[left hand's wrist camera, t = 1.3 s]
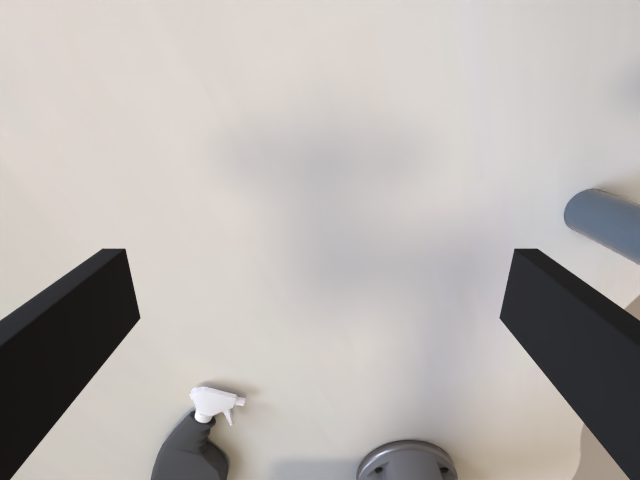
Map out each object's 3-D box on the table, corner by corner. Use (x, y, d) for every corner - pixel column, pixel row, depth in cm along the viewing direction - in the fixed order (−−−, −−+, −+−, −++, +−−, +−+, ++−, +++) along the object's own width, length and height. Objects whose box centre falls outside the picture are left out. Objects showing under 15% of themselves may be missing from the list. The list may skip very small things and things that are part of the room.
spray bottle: (149, 489, 58) (181, 372, 49) (216, 504, 59) (257, 393, 51) (140, 508, 55) (173, 388, 47) (210, 524, 56) (254, 410, 48)
